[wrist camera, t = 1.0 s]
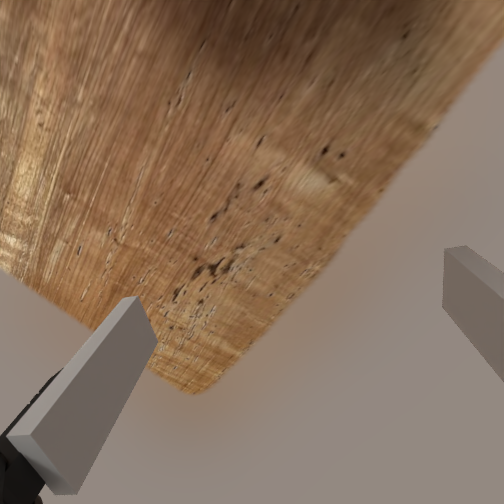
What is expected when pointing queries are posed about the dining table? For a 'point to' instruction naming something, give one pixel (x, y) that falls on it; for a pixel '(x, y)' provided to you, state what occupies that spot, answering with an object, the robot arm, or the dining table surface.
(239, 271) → the dining table surface
